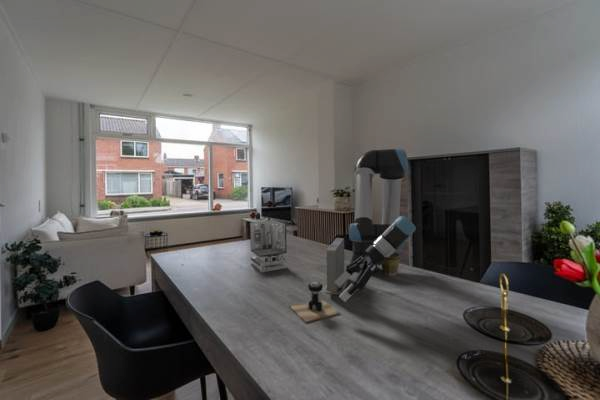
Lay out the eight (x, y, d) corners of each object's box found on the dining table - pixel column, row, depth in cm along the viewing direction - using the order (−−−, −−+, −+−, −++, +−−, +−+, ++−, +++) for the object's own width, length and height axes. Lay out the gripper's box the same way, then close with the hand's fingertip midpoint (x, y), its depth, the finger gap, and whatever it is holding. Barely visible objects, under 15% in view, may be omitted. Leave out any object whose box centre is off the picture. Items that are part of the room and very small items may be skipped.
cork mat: (289, 306, 107) (289, 305, 107) (320, 299, 113) (320, 298, 113) (305, 323, 94) (305, 321, 94) (340, 314, 100) (340, 312, 100)
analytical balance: (276, 261, 169) (275, 220, 167) (289, 269, 152) (288, 224, 150) (251, 265, 161) (250, 222, 160) (262, 274, 145) (261, 227, 143)
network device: (341, 298, 114) (341, 250, 112) (320, 296, 116) (320, 249, 115) (348, 277, 138) (348, 237, 137) (331, 276, 141) (331, 237, 139)
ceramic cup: (402, 276, 138) (403, 257, 137) (382, 277, 138) (382, 257, 137) (394, 268, 151) (394, 250, 150) (376, 268, 151) (376, 250, 150)
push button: (302, 309, 103) (302, 283, 102) (309, 304, 107) (308, 278, 107) (319, 313, 100) (319, 286, 99) (325, 307, 104) (324, 281, 104)
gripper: (398, 268, 90) (352, 314, 91) (377, 249, 115) (341, 285, 116) (382, 252, 90) (336, 298, 91) (364, 237, 114) (328, 273, 116)
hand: (339, 291), depth 103 cm, fingers open, 13 cm apart
